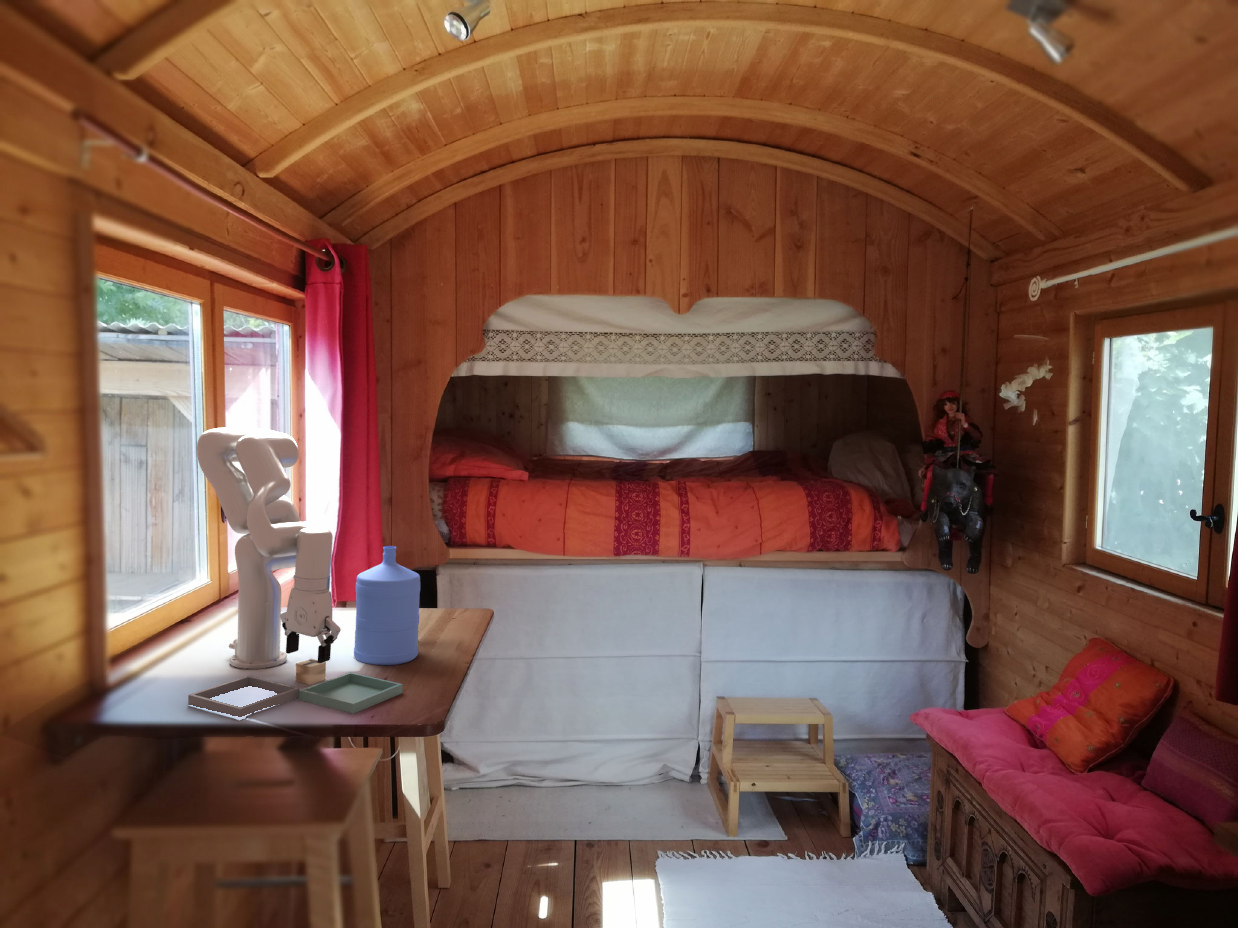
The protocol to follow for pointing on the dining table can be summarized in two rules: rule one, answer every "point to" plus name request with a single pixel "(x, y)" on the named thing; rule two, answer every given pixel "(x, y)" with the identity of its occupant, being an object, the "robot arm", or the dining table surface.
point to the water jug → (387, 613)
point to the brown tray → (203, 697)
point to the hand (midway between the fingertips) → (307, 656)
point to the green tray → (350, 692)
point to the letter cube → (310, 671)
